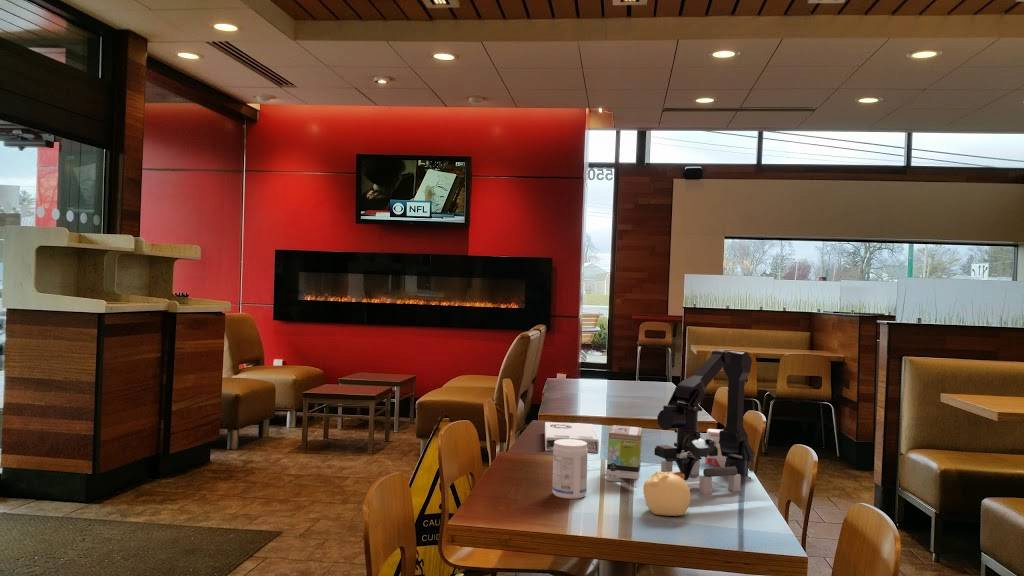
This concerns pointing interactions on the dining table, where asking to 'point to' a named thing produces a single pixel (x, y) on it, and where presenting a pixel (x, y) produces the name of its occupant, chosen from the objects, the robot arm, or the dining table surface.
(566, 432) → the flat white box
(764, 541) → the dining table surface
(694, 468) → the grey u-shaped handle
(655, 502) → the tan rounded lump
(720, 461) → the ink box
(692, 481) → the panel
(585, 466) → the supplement tub
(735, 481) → the grey bar with posts
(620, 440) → the tea box
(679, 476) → the block
